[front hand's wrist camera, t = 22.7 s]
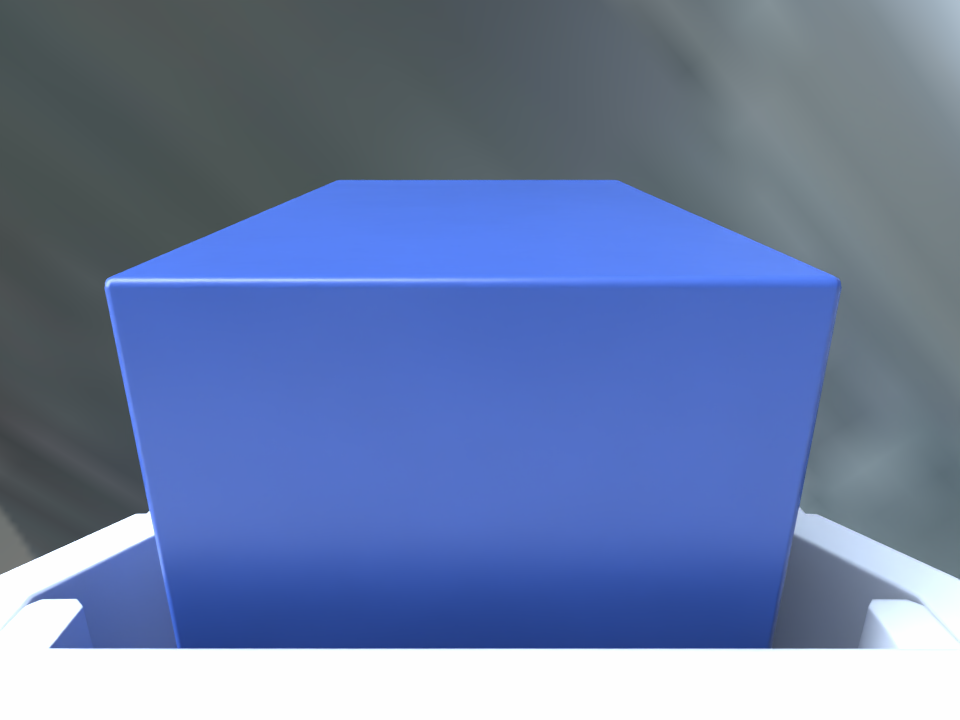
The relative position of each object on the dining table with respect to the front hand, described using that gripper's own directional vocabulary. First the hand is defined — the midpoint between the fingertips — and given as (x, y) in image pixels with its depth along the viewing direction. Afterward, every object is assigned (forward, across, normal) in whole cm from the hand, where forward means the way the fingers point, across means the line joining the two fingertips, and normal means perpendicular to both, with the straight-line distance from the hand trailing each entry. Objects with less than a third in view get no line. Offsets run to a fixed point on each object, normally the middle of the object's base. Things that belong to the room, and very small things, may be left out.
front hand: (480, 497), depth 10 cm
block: (+4, 0, 0) cm, 4 cm away
